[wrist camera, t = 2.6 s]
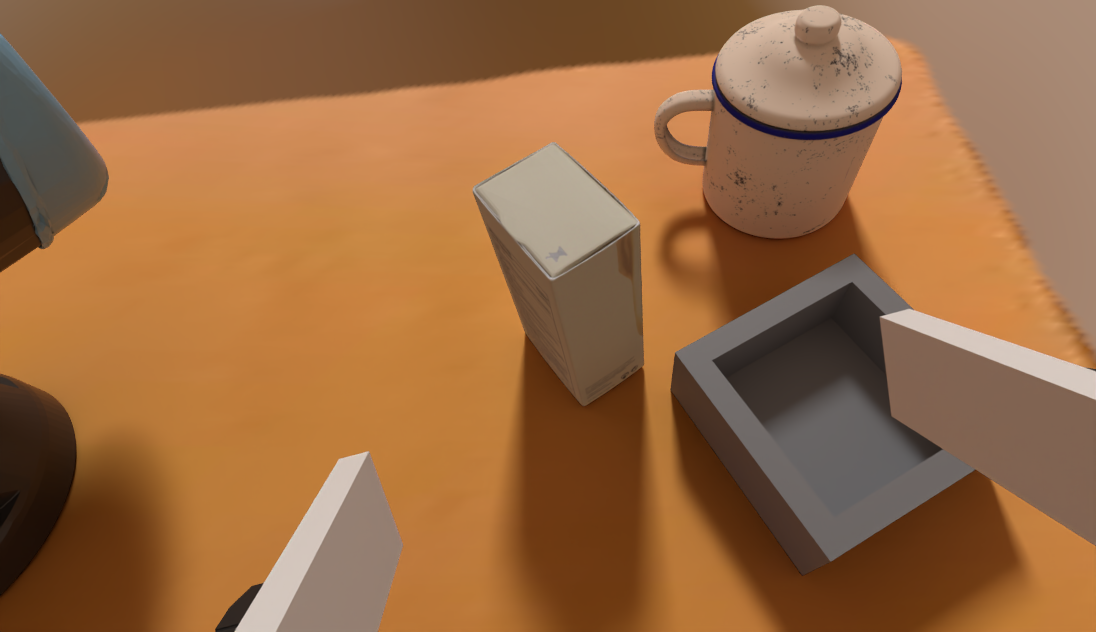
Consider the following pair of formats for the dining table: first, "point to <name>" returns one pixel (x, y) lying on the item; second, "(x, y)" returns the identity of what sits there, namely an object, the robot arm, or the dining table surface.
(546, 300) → the skincare box
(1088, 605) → the dining table surface
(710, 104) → the teacup with lid
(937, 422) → the robot arm
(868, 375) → the tray
